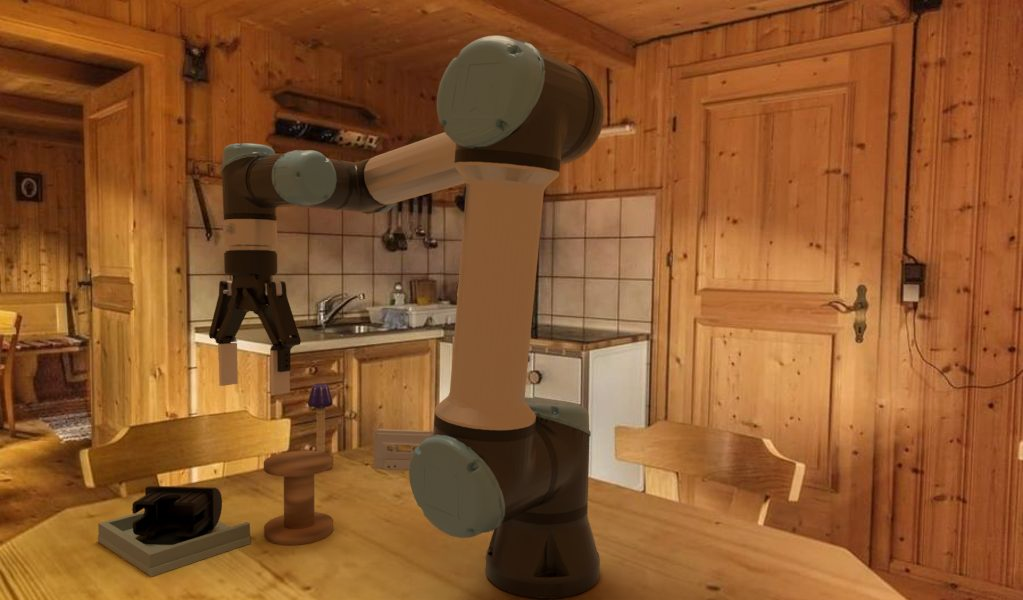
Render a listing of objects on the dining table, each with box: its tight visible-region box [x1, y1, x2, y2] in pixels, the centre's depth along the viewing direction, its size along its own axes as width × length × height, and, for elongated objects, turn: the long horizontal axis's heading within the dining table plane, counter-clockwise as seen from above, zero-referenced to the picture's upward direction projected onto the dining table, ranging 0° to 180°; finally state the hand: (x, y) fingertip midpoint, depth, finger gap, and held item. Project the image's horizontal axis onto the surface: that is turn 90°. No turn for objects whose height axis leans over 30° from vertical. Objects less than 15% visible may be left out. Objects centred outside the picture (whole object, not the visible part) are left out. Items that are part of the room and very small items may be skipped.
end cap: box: [131, 485, 223, 545], centre depth 100 cm, size 10×7×7 cm
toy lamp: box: [307, 383, 333, 470], centre depth 135 cm, size 5×5×17 cm
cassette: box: [373, 428, 433, 471], centre depth 137 cm, size 12×2×8 cm, turn 86°
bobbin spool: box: [263, 450, 334, 546], centre depth 104 cm, size 10×10×11 cm
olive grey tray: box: [97, 510, 252, 578], centre depth 100 cm, size 17×14×3 cm
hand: (253, 389), depth 105 cm, fingers open, 13 cm apart
